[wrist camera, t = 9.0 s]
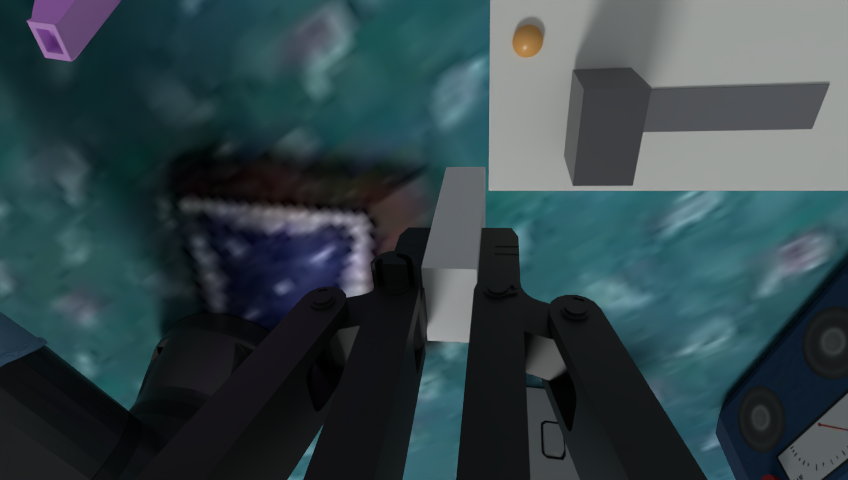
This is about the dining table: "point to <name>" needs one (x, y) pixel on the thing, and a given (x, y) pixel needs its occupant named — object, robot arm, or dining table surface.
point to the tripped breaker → (605, 126)
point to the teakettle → (67, 25)
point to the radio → (795, 400)
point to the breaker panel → (677, 91)
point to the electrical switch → (546, 441)
